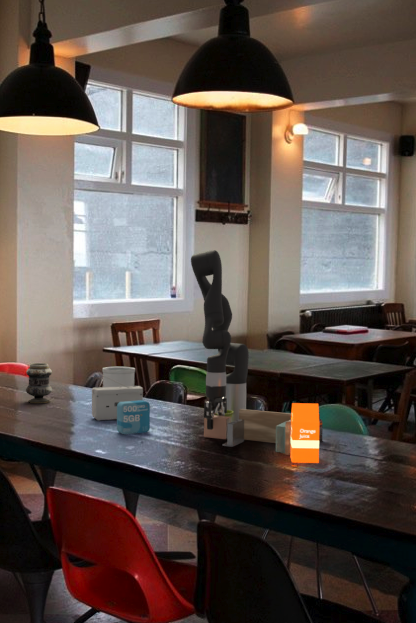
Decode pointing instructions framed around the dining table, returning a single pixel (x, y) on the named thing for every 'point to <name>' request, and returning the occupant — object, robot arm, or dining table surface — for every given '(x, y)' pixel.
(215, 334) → the robot arm
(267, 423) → the rack
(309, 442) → the orange juice
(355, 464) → the dining table surface
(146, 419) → the data package
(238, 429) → the bookend
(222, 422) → the tan rectangular block
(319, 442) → the supplement bottle
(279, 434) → the teal book
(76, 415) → the dining table surface
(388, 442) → the dining table surface
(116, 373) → the utensil holder
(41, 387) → the stone urn vase
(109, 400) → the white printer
